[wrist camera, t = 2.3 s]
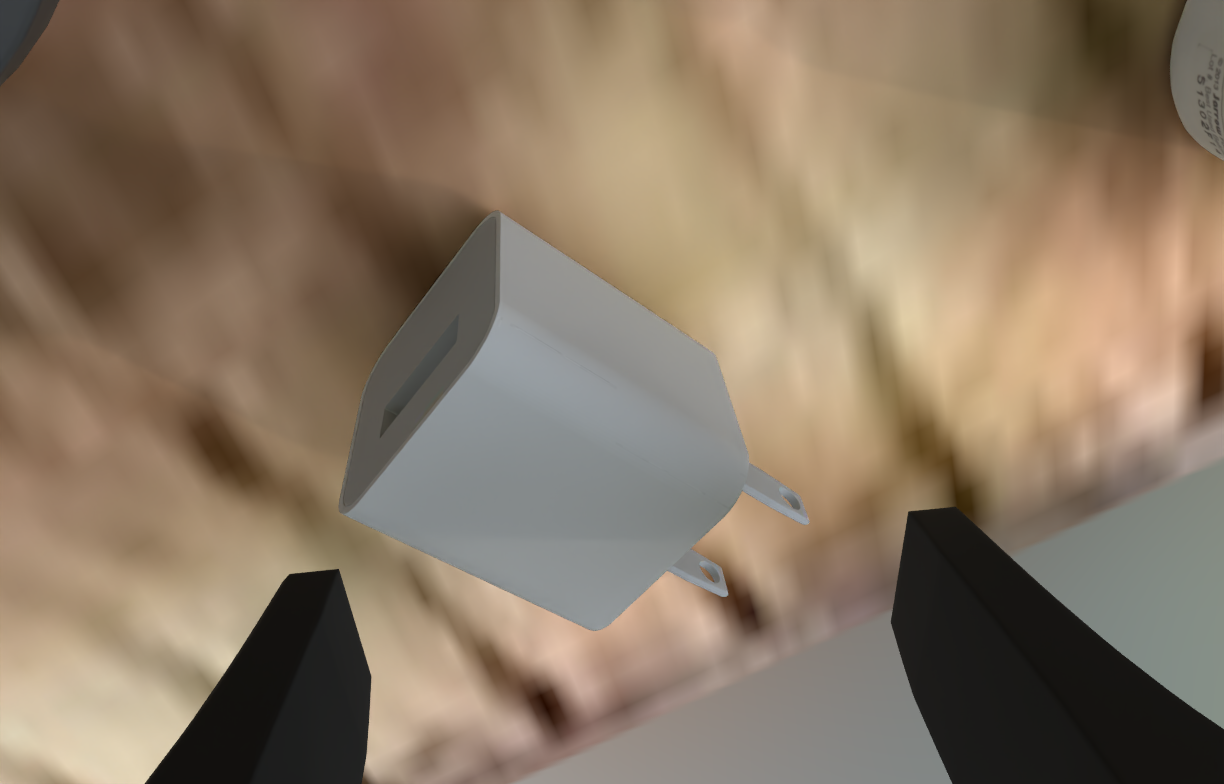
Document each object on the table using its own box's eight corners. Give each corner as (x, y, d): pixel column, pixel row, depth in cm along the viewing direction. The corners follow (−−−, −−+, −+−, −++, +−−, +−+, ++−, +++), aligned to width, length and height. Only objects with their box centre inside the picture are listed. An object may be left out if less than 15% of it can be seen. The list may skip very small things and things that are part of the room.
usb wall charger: (500, 195, 15) (499, 329, 12) (814, 404, 18) (883, 559, 15) (366, 373, 17) (331, 534, 13) (673, 538, 19) (706, 705, 16)
